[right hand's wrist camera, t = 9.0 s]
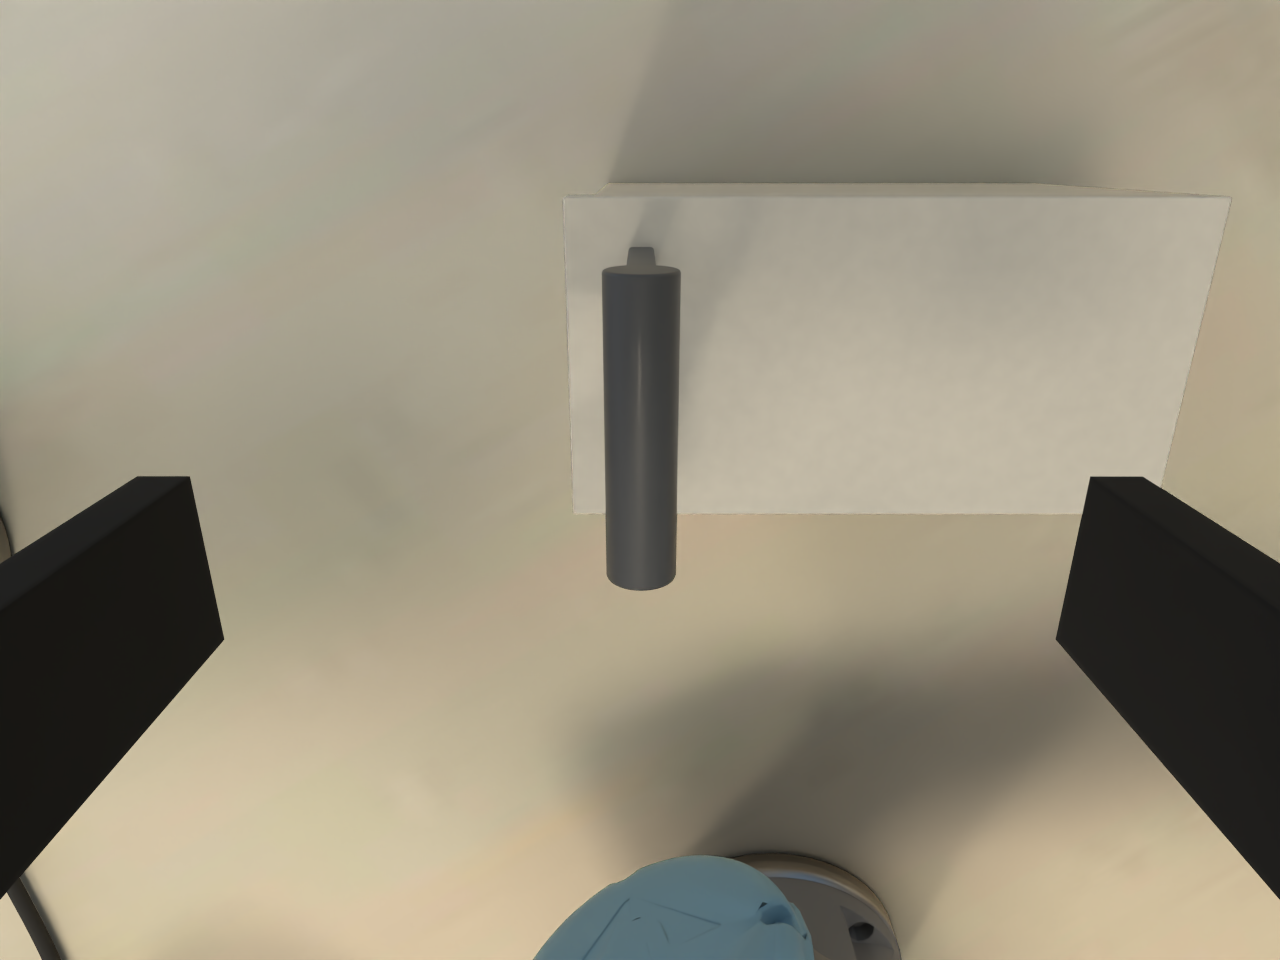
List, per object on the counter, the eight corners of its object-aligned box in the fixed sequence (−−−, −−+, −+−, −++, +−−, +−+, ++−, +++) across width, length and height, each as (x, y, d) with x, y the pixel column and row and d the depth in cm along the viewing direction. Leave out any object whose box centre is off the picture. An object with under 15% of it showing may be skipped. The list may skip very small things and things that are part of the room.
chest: (610, 405, 37) (598, 499, 27) (607, 182, 33) (592, 194, 23) (997, 405, 37) (1132, 499, 27) (1033, 183, 33) (1203, 194, 23)
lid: (575, 499, 27) (549, 635, 19) (566, 194, 23) (530, 212, 16) (1133, 500, 27) (1328, 636, 19) (1204, 194, 23) (1476, 212, 16)
